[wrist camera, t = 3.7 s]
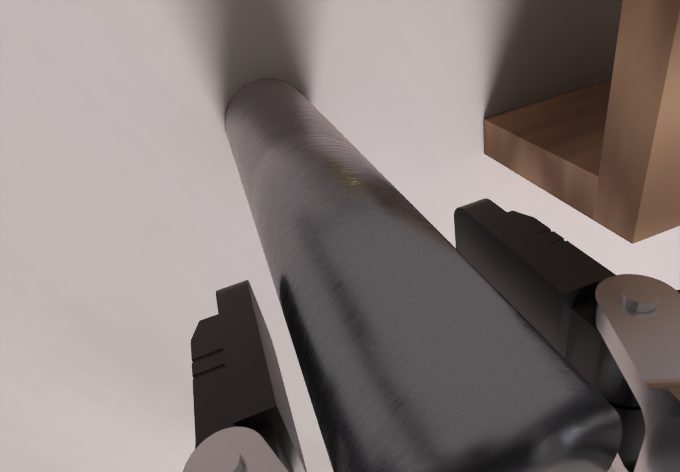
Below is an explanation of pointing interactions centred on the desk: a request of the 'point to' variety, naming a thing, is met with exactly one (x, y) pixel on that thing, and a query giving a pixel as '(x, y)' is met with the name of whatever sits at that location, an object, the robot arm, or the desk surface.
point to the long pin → (400, 316)
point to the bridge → (609, 132)
